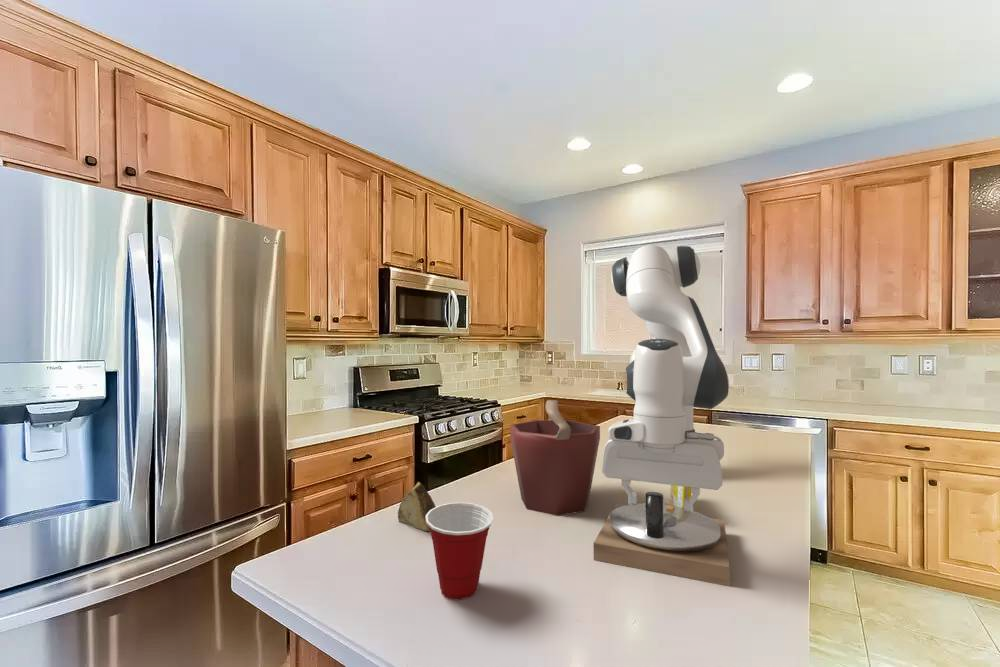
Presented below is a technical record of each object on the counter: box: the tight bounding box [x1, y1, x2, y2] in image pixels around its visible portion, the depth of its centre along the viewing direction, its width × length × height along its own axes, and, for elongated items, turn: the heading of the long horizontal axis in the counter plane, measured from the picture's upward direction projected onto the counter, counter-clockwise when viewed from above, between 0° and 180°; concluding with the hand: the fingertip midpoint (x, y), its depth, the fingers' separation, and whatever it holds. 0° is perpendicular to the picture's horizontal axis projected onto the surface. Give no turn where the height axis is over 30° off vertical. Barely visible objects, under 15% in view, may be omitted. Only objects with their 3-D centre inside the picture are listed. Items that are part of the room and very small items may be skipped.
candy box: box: [669, 485, 692, 508], centre depth 107 cm, size 16×2×8 cm, turn 168°
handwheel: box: [609, 491, 720, 551], centre depth 88 cm, size 20×20×8 cm
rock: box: [397, 481, 436, 532], centre depth 99 cm, size 11×9×10 cm
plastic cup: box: [426, 502, 494, 600], centre depth 72 cm, size 11×11×12 cm
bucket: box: [509, 399, 601, 516], centre depth 113 cm, size 24×22×25 cm
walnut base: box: [593, 504, 731, 587], centre depth 88 cm, size 22×22×3 cm
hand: (660, 507), depth 81 cm, fingers open, 8 cm apart
